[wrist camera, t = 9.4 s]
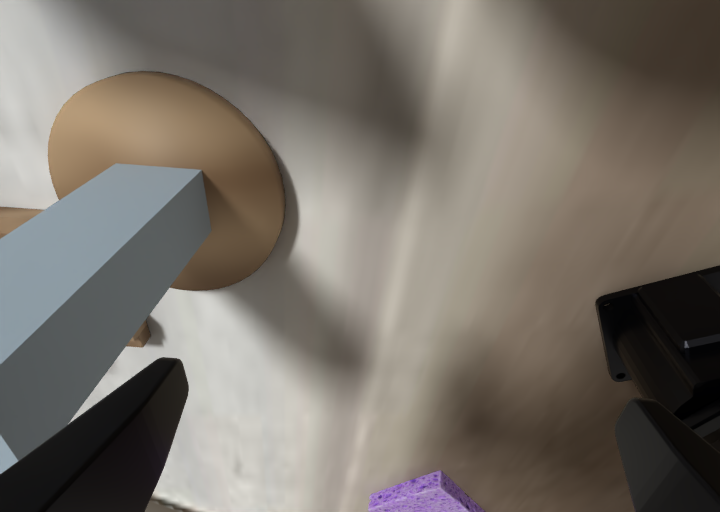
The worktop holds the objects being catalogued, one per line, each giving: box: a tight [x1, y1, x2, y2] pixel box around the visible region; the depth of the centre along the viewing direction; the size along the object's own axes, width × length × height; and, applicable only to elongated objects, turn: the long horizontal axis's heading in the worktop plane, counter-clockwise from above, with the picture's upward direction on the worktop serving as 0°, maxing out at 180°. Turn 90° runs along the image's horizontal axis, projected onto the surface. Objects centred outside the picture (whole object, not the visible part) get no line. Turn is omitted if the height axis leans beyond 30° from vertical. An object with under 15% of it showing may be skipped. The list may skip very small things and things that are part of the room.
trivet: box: [48, 71, 285, 291], centre depth 21 cm, size 11×11×1 cm
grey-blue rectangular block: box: [0, 163, 212, 474], centre depth 15 cm, size 4×3×12 cm
